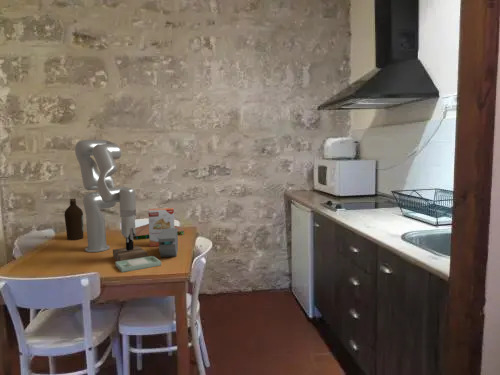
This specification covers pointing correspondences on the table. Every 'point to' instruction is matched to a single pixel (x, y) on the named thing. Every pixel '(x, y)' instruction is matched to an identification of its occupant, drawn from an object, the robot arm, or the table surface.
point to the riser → (129, 253)
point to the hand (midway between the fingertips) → (129, 249)
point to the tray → (152, 263)
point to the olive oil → (74, 221)
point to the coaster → (136, 262)
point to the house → (145, 230)
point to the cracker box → (159, 223)
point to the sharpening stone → (168, 242)
